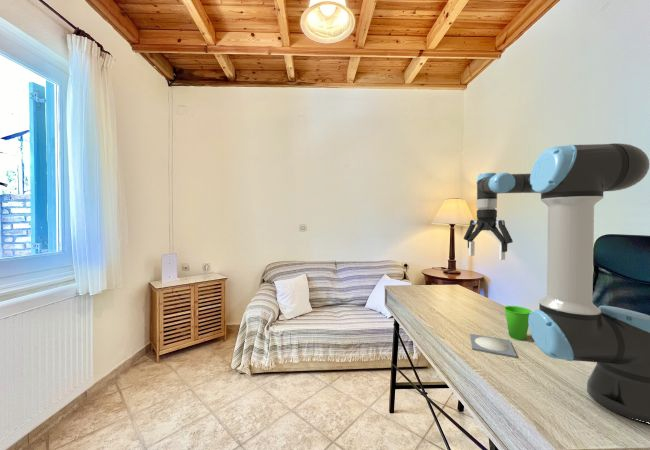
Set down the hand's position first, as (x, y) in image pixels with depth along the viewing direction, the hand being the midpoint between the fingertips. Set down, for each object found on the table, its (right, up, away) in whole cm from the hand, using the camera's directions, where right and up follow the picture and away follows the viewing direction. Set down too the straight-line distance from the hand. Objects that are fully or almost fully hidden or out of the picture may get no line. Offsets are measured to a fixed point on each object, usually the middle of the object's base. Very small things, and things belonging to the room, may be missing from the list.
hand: (486, 257), depth 116 cm
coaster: (-10, -30, -19) cm, 37 cm away
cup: (+4, -30, -13) cm, 33 cm away
